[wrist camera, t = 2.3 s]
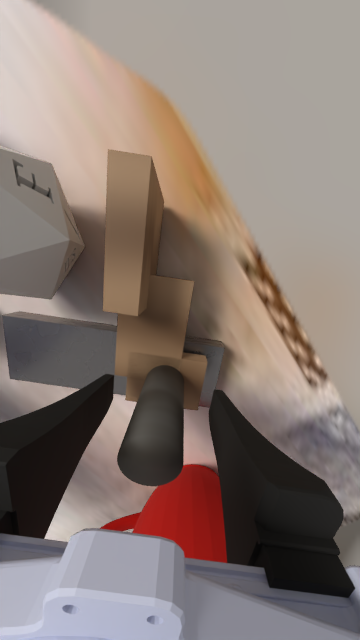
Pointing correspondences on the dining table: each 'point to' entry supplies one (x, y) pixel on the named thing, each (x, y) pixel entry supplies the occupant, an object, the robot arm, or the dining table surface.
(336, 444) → the dining table surface
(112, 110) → the dining table surface
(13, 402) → the dining table surface
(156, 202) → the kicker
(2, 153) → the die
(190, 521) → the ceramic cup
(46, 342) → the rail
